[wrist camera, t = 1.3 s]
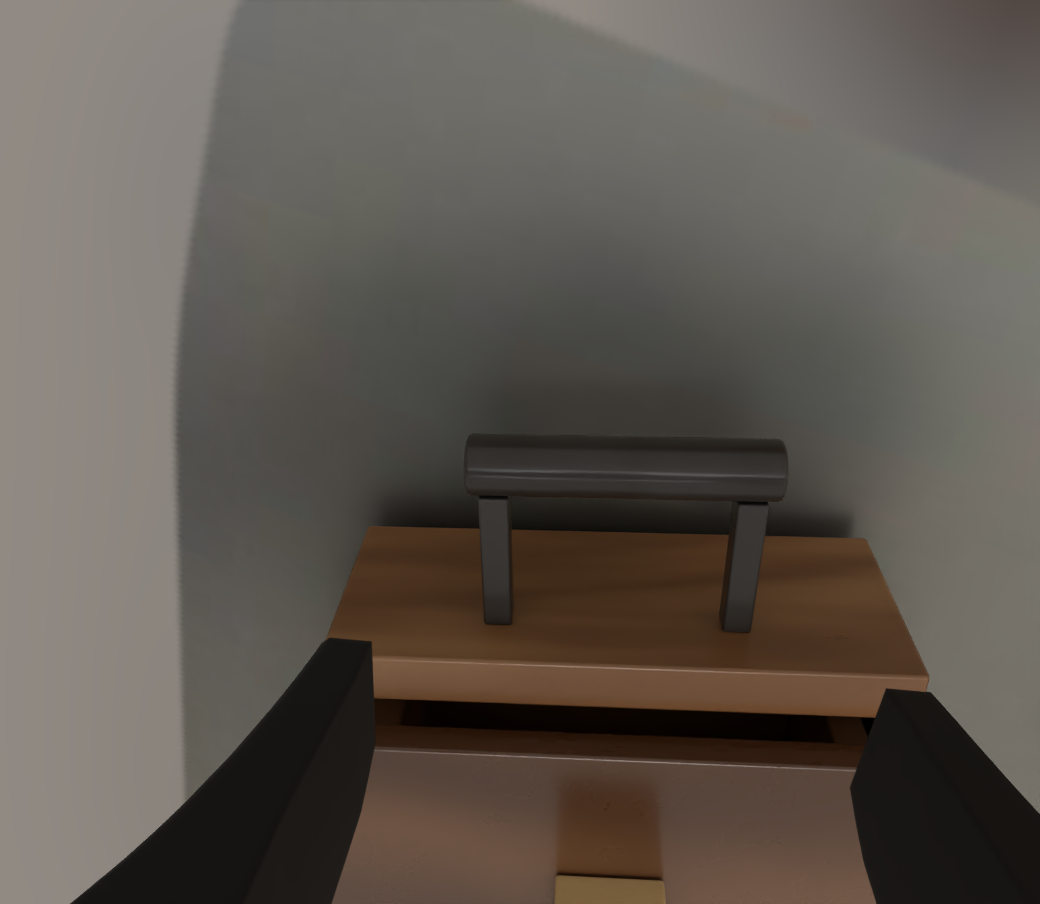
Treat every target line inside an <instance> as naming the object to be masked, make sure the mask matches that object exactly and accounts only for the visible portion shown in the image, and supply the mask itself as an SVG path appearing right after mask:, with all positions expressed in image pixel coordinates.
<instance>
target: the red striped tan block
mask: <svg viewBox="0 0 1040 904" xmlns="http://www.w3.org/2000/svg"><path fill="white" fill-rule="evenodd" d="M554 904H666V900H665V887H664V882H663V881H660V880H641V879H622V878H603V877H583V876H564V875H557V876H556V878H555V899H554Z"/></svg>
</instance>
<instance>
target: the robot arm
mask: <svg viewBox="0 0 1040 904" xmlns="http://www.w3.org/2000/svg"><path fill="white" fill-rule="evenodd" d="M375 744H376V738H375V711H374V684H373V657H372V641H362V640H351V639H340V638H328V639H327V640H325V641H324V642H323V643H322V644H321V645H320V646H319V648H318V649H317V651H316V652H315V653H314V655H313V656H312V657H311V659H310V660H309V661H308V663H307V664H306V665H305V667H304V668H303V669H302V671H301V672H300V673H299V675H298V676H297V677H296V678H295V680H294V681H293V682H292V684H291V685H290V686H289V687H288V689H287V690H286V691H285V692H284V694H283V695H282V696H281V697H280V698H279V700H278V701H277V702H276V703H275V705H274V706H273V707H272V708H271V710H270V711H269V712H268V713H267V714H266V715H265V716H264V718H263V719H262V720H261V721H260V722H259V723H258V725H257V726H256V727H255V728H254V729H253V730H252V731H251V733H250V734H249V735H248V736H247V737H246V738H245V740H244V741H243V742H242V743H241V744H240V745H239V746H238V748H237V749H236V750H235V751H234V752H233V753H232V754H231V755H230V756H229V758H228V759H227V760H226V761H225V762H224V763H223V764H222V765H221V766H220V767H219V768H218V769H217V770H216V771H215V772H214V773H213V774H212V775H211V776H210V777H209V778H208V779H207V780H206V781H205V783H204V784H203V785H202V786H201V787H200V788H199V789H198V790H197V791H196V792H195V793H194V794H193V795H192V796H191V797H190V798H189V799H188V800H187V801H186V802H185V803H184V804H183V805H182V806H181V807H180V808H179V809H178V810H177V811H176V812H175V813H174V814H173V815H172V816H171V817H170V818H169V819H168V820H167V821H166V822H165V823H163V824H162V825H161V826H160V827H159V828H158V829H157V830H156V831H155V832H154V833H153V834H152V835H150V836H149V837H148V838H147V839H146V840H145V841H144V842H143V843H142V844H141V845H139V846H138V847H137V848H136V849H135V850H134V851H133V852H131V853H130V854H129V855H128V856H127V857H126V858H125V859H124V860H122V861H121V862H120V863H119V864H118V865H117V866H115V867H114V868H113V869H112V870H111V871H109V872H108V873H107V874H106V875H105V876H103V877H102V878H101V879H100V880H98V881H97V882H96V883H95V884H94V885H92V886H91V887H90V888H89V889H88V890H86V891H85V892H84V893H83V894H82V895H80V896H79V897H78V898H77V899H76V900H74V901H73V902H72V903H71V904H332V901H333V898H334V895H335V892H336V889H337V885H338V882H339V879H340V876H341V873H342V870H343V867H344V864H345V861H346V858H347V855H348V852H349V849H350V845H351V842H352V839H353V836H354V833H355V830H356V827H357V824H358V821H359V817H360V814H361V811H362V806H363V801H364V797H365V792H366V787H367V783H368V778H369V773H370V768H371V763H372V758H373V753H374V748H375ZM850 792H851V798H852V804H853V810H854V815H855V821H856V827H857V832H858V837H859V842H860V847H861V852H862V857H863V862H864V865H865V868H866V872H867V875H868V878H869V882H870V885H871V888H872V891H873V894H874V898H875V901H876V904H1040V814H1039V813H1038V812H1037V811H1036V810H1035V809H1034V808H1033V806H1032V805H1031V804H1030V803H1029V802H1028V801H1027V800H1026V799H1025V798H1024V797H1023V796H1022V794H1021V793H1020V792H1019V791H1018V790H1017V789H1016V788H1015V787H1014V786H1013V785H1012V783H1011V782H1010V781H1009V780H1008V779H1007V778H1006V777H1005V776H1004V775H1003V773H1002V772H1001V771H1000V770H999V769H998V768H997V767H996V765H995V764H994V763H993V762H992V761H991V760H990V759H989V758H988V756H987V755H986V754H985V753H984V752H983V751H982V750H981V749H980V747H979V746H978V745H977V744H976V743H975V742H974V741H973V739H972V738H971V737H970V736H969V735H968V734H967V733H966V731H965V730H964V729H963V728H962V727H961V726H960V725H959V723H958V722H957V721H956V720H955V719H954V718H953V717H952V716H951V714H950V713H949V712H948V711H947V710H946V709H945V708H944V707H943V705H942V704H941V703H940V702H939V701H938V700H937V699H936V698H935V697H934V696H933V694H932V693H931V692H922V691H911V690H900V689H889V688H886V690H885V692H884V695H883V698H882V701H881V703H880V706H879V709H878V712H877V714H876V717H875V720H874V722H873V725H872V728H871V731H870V733H869V736H868V739H867V742H866V744H865V747H864V750H863V753H862V755H861V758H860V761H859V764H858V766H857V769H856V772H855V775H854V777H853V780H852V783H851V786H850Z"/></svg>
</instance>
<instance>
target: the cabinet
mask: <svg viewBox="0 0 1040 904" xmlns="http://www.w3.org/2000/svg"><path fill="white" fill-rule="evenodd" d="M861 719H862V722H863V725H864V728H865V731H866V734H867V736H869V733H870V731H871V728H872V725H873V722H874V720H875V718H870V717H861ZM375 738H376V744H375V748H374V753H373V758H372V763H371V768H370V773H369V778H368V783H367V787H366V792H365V797H364V801H363V806H362V811H361V814H360V817H359V821H358V824H357V827H356V830H355V833H354V836H353V839H352V842H351V845H350V849H349V852H348V855H347V858H346V861H345V864H344V867H343V870H342V873H341V876H340V879H339V882H338V885H337V889H336V892H335V895H334V898H333V901H332V904H554V899H555V878H556V876H557V875H564V876H583V877H603V878H622V879H641V880H660V881H663V882H664V887H665V900H666V904H876V901H875V898H874V894H873V891H872V888H871V885H870V882H869V878H868V875H867V872H866V868H865V865H864V862H863V857H862V852H861V847H860V842H859V837H858V832H857V827H856V821H855V815H854V810H853V804H852V798H851V792H850V786H851V783H852V780H853V777H854V775H855V772H856V769H857V766H858V764H859V761H860V758H861V755H862V753H863V750H864V747H865V744H846V743H822V742H797V741H772V740H748V739H723V738H699V737H674V736H650V735H625V734H601V733H576V732H551V731H527V730H502V729H478V728H453V727H429V726H404V725H380V724H375Z"/></svg>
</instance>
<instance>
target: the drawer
mask: <svg viewBox="0 0 1040 904" xmlns="http://www.w3.org/2000/svg"><path fill="white" fill-rule="evenodd" d="M464 480H465V488H466V491H467V493H468V494H469V495H479V497H478V512H479V529H471V528H431V527H391V526H370V527H368V529H367V532H366V535H365V537H364V540H363V543H362V545H361V548H360V550H359V553H358V556H357V558H356V561H355V564H354V566H353V569H352V572H351V574H350V577H349V579H348V582H347V585H346V587H345V590H344V593H343V595H342V598H341V601H340V603H339V606H338V609H337V611H336V614H335V616H334V619H333V622H332V624H331V627H330V630H329V632H328V635H327V638H326V640H327V639H328V638H340V639H351V640H362V641H372V657H373V684H374V711H375V724H380V725H404V726H429V727H453V728H478V729H502V730H527V731H551V732H576V733H601V734H625V735H650V736H674V737H699V738H723V739H748V740H772V741H797V742H822V743H846V744H866V742H867V739H868V736H867V734H866V731H865V728H864V725H863V722H862V719H861V717H870V718H875V717H876V714H877V712H878V709H879V706H880V703H881V701H882V698H883V695H884V692H885V690H886V688H889V689H900V690H911V691H922V692H926V689H927V685H928V682H929V675H928V673H927V670H926V668H925V666H924V664H923V662H922V659H921V657H920V655H919V653H918V651H917V649H916V646H915V644H914V642H913V640H912V638H911V635H910V633H909V631H908V629H907V627H906V625H905V622H904V620H903V618H902V616H901V614H900V612H899V609H898V607H897V605H896V603H895V601H894V598H893V596H892V594H891V592H890V590H889V588H888V585H887V583H886V581H885V579H884V577H883V574H882V572H881V570H880V568H879V566H878V564H877V561H876V559H875V557H874V555H873V553H872V551H871V548H870V546H869V544H868V542H867V540H866V539H864V538H831V537H791V536H765V532H766V525H767V519H768V512H769V504H768V502H779V501H782V500H783V498H784V495H785V493H786V489H787V483H788V455H787V450H786V447H785V444H784V442H783V441H782V440H780V439H756V438H699V437H642V436H585V435H528V434H470V435H469V436H468V438H467V441H466V446H465V456H464ZM511 496H523V497H568V498H613V499H657V500H702V501H733V504H732V513H731V521H730V529H729V535H711V534H671V533H631V532H591V531H551V530H512V525H511Z"/></svg>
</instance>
